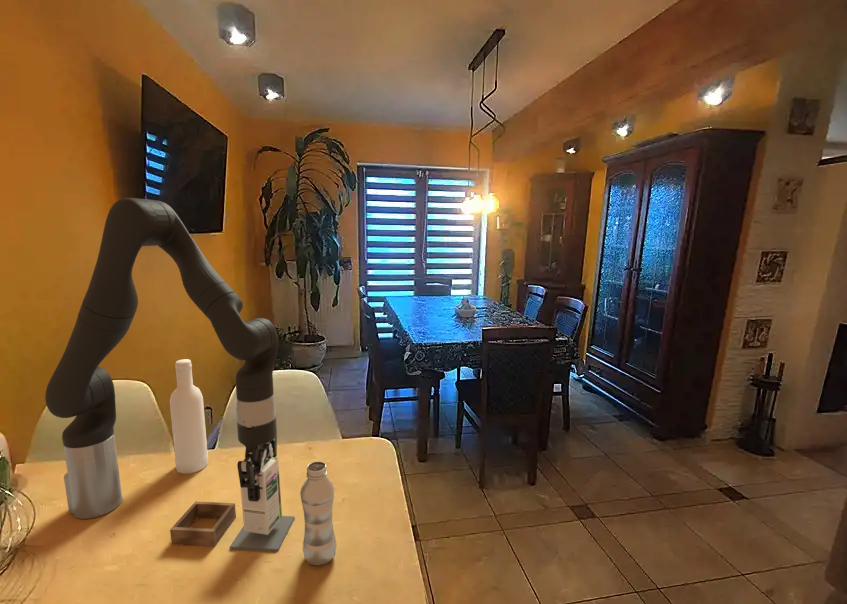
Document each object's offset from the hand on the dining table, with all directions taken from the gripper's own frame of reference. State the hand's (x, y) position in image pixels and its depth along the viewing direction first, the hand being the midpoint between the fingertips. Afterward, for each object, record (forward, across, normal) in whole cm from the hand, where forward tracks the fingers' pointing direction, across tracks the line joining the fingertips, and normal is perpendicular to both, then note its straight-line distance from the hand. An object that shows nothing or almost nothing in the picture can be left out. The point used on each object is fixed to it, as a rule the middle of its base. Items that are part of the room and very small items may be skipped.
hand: (260, 490), depth 92 cm
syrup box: (+8, 0, 0) cm, 8 cm away
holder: (+10, 0, -13) cm, 16 cm away
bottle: (+10, -24, -30) cm, 40 cm away
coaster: (+10, 0, 0) cm, 10 cm away
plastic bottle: (+10, +6, +14) cm, 19 cm away
